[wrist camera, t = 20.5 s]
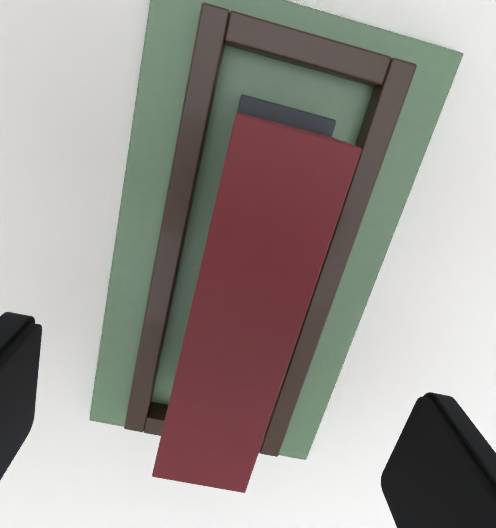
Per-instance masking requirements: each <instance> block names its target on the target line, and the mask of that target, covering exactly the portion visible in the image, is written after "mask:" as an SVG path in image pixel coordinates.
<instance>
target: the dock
mask: <svg viewBox="0 0 496 528" xmlns="http://www.w3.org/2000/svg"><path fill="white" fill-rule="evenodd" d="M462 56H463V53H461V52H458V51H454V50H451V49H447V48H444V47H441V46H437V45H434V44H431V43H427V42H424V41H420V40H417V39H414V38H410V37H407V36H404V35H400V34H397V33H393V32H390V31H387V30H383V29H380V28H377V27H373V26H370V25H367V24H363V23H360V22H356V21H353V20H350V19H346V18H343V17H340V16H336V15H333V14H329V13H326V12H323V11H319V10H316V9H313V8H309V7H306V6H302V5H299V4H296V3H292V2H289V1H286V0H150V7H149V14H148V21H147V28H146V34H145V41H144V48H143V55H142V62H141V69H140V76H139V83H138V89H137V96H136V103H135V110H134V117H133V124H132V131H131V137H130V144H129V151H128V158H127V165H126V172H125V179H124V185H123V192H122V199H121V206H120V213H119V220H118V227H117V233H116V240H115V247H114V254H113V261H112V268H111V275H110V281H109V288H108V295H107V302H106V309H105V316H104V323H103V330H102V336H101V343H100V350H99V357H98V364H97V371H96V378H95V384H94V391H93V398H92V405H91V412H90V420H91V421H97V422H102V423H107V424H113V425H118V426H124V428H125V429H128V430H134V431H139V432H143V431H144V433H148V434H154V435H159V436H161V435H162V430H163V426H164V422H165V418H166V413H167V409H168V405H169V400H170V396H171V392H172V387H173V383H174V379H175V374H176V370H177V366H178V361H179V357H180V353H181V348H182V344H183V340H184V335H185V331H186V327H187V322H188V318H189V314H190V309H191V305H192V301H193V296H194V292H195V288H196V283H197V279H198V275H199V270H200V266H201V262H202V257H203V253H204V249H205V244H206V240H207V236H208V231H209V227H210V223H211V218H212V214H213V210H214V205H215V201H216V197H217V192H218V188H219V184H220V179H221V175H222V171H223V166H224V162H225V158H226V153H227V149H228V145H229V140H230V136H231V132H232V127H233V123H234V119H235V115H236V113H237V110H238V105H239V101H240V97H241V95H242V94H243V95H247V96H251V97H254V98H258V99H262V100H265V101H269V102H272V103H276V104H280V105H283V106H287V107H291V108H294V109H298V110H301V111H305V112H309V113H312V114H316V115H320V116H323V117H327V118H330V119H334V120H336V124H335V128H334V131H333V134H332V137H333V138H336V139H339V140H341V141H344V142H347V143H350V144H353V145H355V146H358V147H361V148H362V150H361V153H360V156H359V159H358V162H357V165H356V168H355V171H354V174H353V177H352V180H351V183H350V186H349V188H348V191H347V194H346V197H345V200H344V203H343V206H342V209H341V212H340V215H339V218H338V221H337V224H336V227H335V230H334V233H333V235H332V238H331V241H330V244H329V247H328V250H327V253H326V256H325V259H324V262H323V265H322V268H321V271H320V274H319V277H318V280H317V283H316V285H315V288H314V291H313V294H312V297H311V300H310V303H309V306H308V309H307V312H306V315H305V318H304V321H303V324H302V327H301V330H300V332H299V335H298V338H297V341H296V344H295V347H294V350H293V353H292V356H291V359H290V362H289V365H288V368H287V371H286V374H285V377H284V379H283V382H282V385H281V388H280V391H279V394H278V397H277V400H276V403H275V406H274V409H273V412H272V415H271V418H270V421H269V424H268V426H267V429H266V432H265V435H264V438H263V441H262V444H261V447H260V450H259V453H261V454H265V455H271V456H276V457H277V456H278V455H282V456H288V457H293V458H298V459H304V460H306V458H307V456H308V453H309V451H310V448H311V445H312V443H313V440H314V438H315V435H316V433H317V430H318V427H319V425H320V422H321V420H322V417H323V414H324V412H325V409H326V407H327V404H328V402H329V399H330V396H331V394H332V391H333V389H334V386H335V384H336V381H337V378H338V376H339V373H340V371H341V368H342V365H343V363H344V360H345V358H346V355H347V353H348V350H349V347H350V345H351V342H352V340H353V337H354V335H355V332H356V329H357V327H358V324H359V322H360V319H361V317H362V314H363V311H364V309H365V306H366V304H367V301H368V298H369V296H370V293H371V291H372V288H373V286H374V283H375V280H376V278H377V275H378V273H379V270H380V268H381V265H382V262H383V260H384V257H385V255H386V252H387V249H388V247H389V244H390V242H391V239H392V237H393V234H394V231H395V229H396V226H397V224H398V221H399V219H400V216H401V213H402V211H403V208H404V206H405V203H406V201H407V198H408V195H409V193H410V190H411V188H412V185H413V182H414V180H415V177H416V175H417V172H418V170H419V167H420V164H421V162H422V159H423V157H424V154H425V152H426V149H427V146H428V144H429V141H430V139H431V136H432V133H433V131H434V128H435V126H436V123H437V121H438V118H439V115H440V113H441V110H442V108H443V105H444V103H445V100H446V97H447V95H448V92H449V90H450V87H451V85H452V82H453V79H454V77H455V74H456V72H457V69H458V66H459V64H460V61H461V59H462ZM259 453H258V454H259Z"/></svg>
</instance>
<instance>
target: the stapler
mask: <svg viewBox="0 0 496 528" xmlns="http://www.w3.org/2000/svg"><path fill="white" fill-rule="evenodd" d="M335 124H336V120H334V119H330V118H327V117H323V116H320V115H316V114H312V113H309V112H305V111H301V110H298V109H294V108H291V107H287V106H283V105H280V104H276V103H272V102H269V101H265V100H262V99H258V98H254V97H251V96H247V95H243V94H242V95H241V97H240V101H239V105H238V110H237V113H236V115H235V119H234V123H233V127H232V132H231V136H230V140H229V145H228V149H227V153H226V158H225V162H224V166H223V171H222V175H221V179H220V184H219V188H218V192H217V197H216V201H215V205H214V210H213V214H212V218H211V223H210V227H209V231H208V236H207V240H206V244H205V249H204V253H203V257H202V262H201V266H200V270H199V275H198V279H197V283H196V288H195V292H194V296H193V301H192V305H191V309H190V314H189V318H188V322H187V327H186V331H185V335H184V340H183V344H182V348H181V353H180V357H179V361H178V366H177V370H176V374H175V379H174V383H173V387H172V392H171V396H170V400H169V405H168V409H167V413H166V418H165V422H164V426H163V430H162V435H161V439H160V443H159V448H158V452H157V456H156V461H155V465H154V469H153V474H152V476H153V477H158V478H163V479H169V480H175V481H180V482H186V483H192V484H197V485H203V486H209V487H214V488H220V489H226V490H231V491H237V492H243V493H245V491H246V488H247V485H248V482H249V479H250V476H251V474H252V471H253V468H254V465H255V462H256V459H257V456H258V453H259V450H260V447H261V444H262V441H263V438H264V435H265V432H266V429H267V426H268V424H269V421H270V418H271V415H272V412H273V409H274V406H275V403H276V400H277V397H278V394H279V391H280V388H281V385H282V382H283V379H284V377H285V374H286V371H287V368H288V365H289V362H290V359H291V356H292V353H293V350H294V347H295V344H296V341H297V338H298V335H299V332H300V330H301V327H302V324H303V321H304V318H305V315H306V312H307V309H308V306H309V303H310V300H311V297H312V294H313V291H314V288H315V285H316V283H317V280H318V277H319V274H320V271H321V268H322V265H323V262H324V259H325V256H326V253H327V250H328V247H329V244H330V241H331V238H332V235H333V233H334V230H335V227H336V224H337V221H338V218H339V215H340V212H341V209H342V206H343V203H344V200H345V197H346V194H347V191H348V188H349V186H350V183H351V180H352V177H353V174H354V171H355V168H356V165H357V162H358V159H359V156H360V153H361V150H362V148H361V147H358V146H355V145H353V144H350V143H347V142H344V141H341V140H339V139H336V138H333V137H332V134H333V131H334V128H335Z"/></svg>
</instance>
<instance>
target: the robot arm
mask: <svg viewBox="0 0 496 528" xmlns="http://www.w3.org/2000/svg"><path fill="white" fill-rule="evenodd" d="M41 335H42V326H41V325H40V324H35V320H34V318H33V317H32V316H27V315H22V314H16V313H11V312H5V313H4V314H2V315H1V316H0V480H1V478H2V477H3V475H4V473H5V472H6V470H7V468H8V467H9V465H10V464H11V462H12V460H13V459H14V457H15V455H16V454H17V452H18V450H19V449H20V447H21V445H22V444H23V442H24V441H25V439H26V437H27V436H28V434H29V432H30V429H31V427H32V424H33V420H34V412H35V401H36V390H37V379H38V368H39V357H40V346H41ZM381 487H382V491H383V493H384V496H385V498H386V501H387V503H388V506H389V508H390V511H391V513H392V516H393V519H394V521H395V524H396V526H397V528H496V453H495V451H494V450H493V449H492V448H491V446H490V445H489V444H488V442H487V441H486V440H485V438H484V437H483V436H482V434H481V433H480V432H479V431H478V429H477V428H476V427H475V425H474V424H473V423H472V421H471V420H470V419H469V417H468V416H467V415H466V414H465V412H464V411H463V410H462V408H461V407H460V406H459V404H458V403H457V402H456V400H455V399H454V398H453V397H450V396H446V395H441V394H436V393H431V392H429V393H426V394H425V395H424V396H423V397H420V398H418V400H417V401H416V403H415V405H414V407H413V409H412V412H411V414H410V416H409V418H408V420H407V422H406V424H405V426H404V429H403V431H402V433H401V435H400V437H399V439H398V441H397V443H396V445H395V448H394V450H393V452H392V454H391V456H390V458H389V460H388V462H387V464H386V467H385V469H384V471H383V473H382V476H381Z"/></svg>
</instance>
